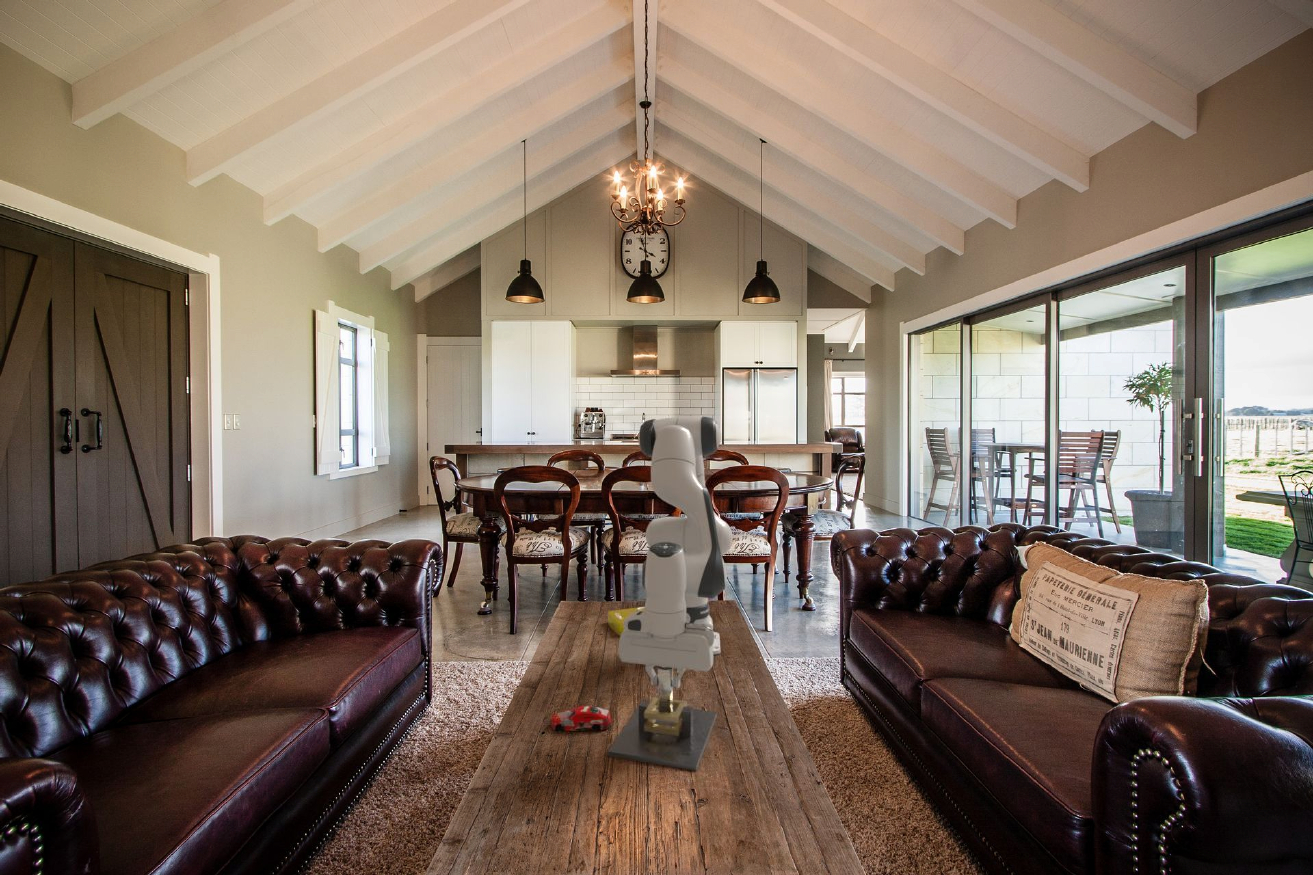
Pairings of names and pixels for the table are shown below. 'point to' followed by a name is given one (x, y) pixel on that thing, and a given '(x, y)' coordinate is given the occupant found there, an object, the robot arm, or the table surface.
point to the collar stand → (665, 735)
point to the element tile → (620, 618)
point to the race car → (581, 719)
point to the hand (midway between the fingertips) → (665, 685)
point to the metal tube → (665, 689)
